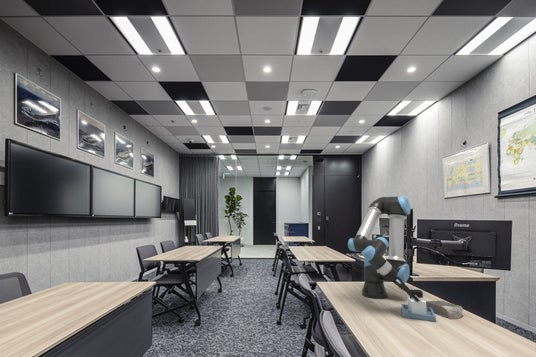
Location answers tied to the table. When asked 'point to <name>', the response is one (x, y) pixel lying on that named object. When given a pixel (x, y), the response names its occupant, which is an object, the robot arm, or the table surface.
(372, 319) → the table surface
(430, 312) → the tray
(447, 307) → the geological specimen
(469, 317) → the table surface
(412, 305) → the medicine bottle
